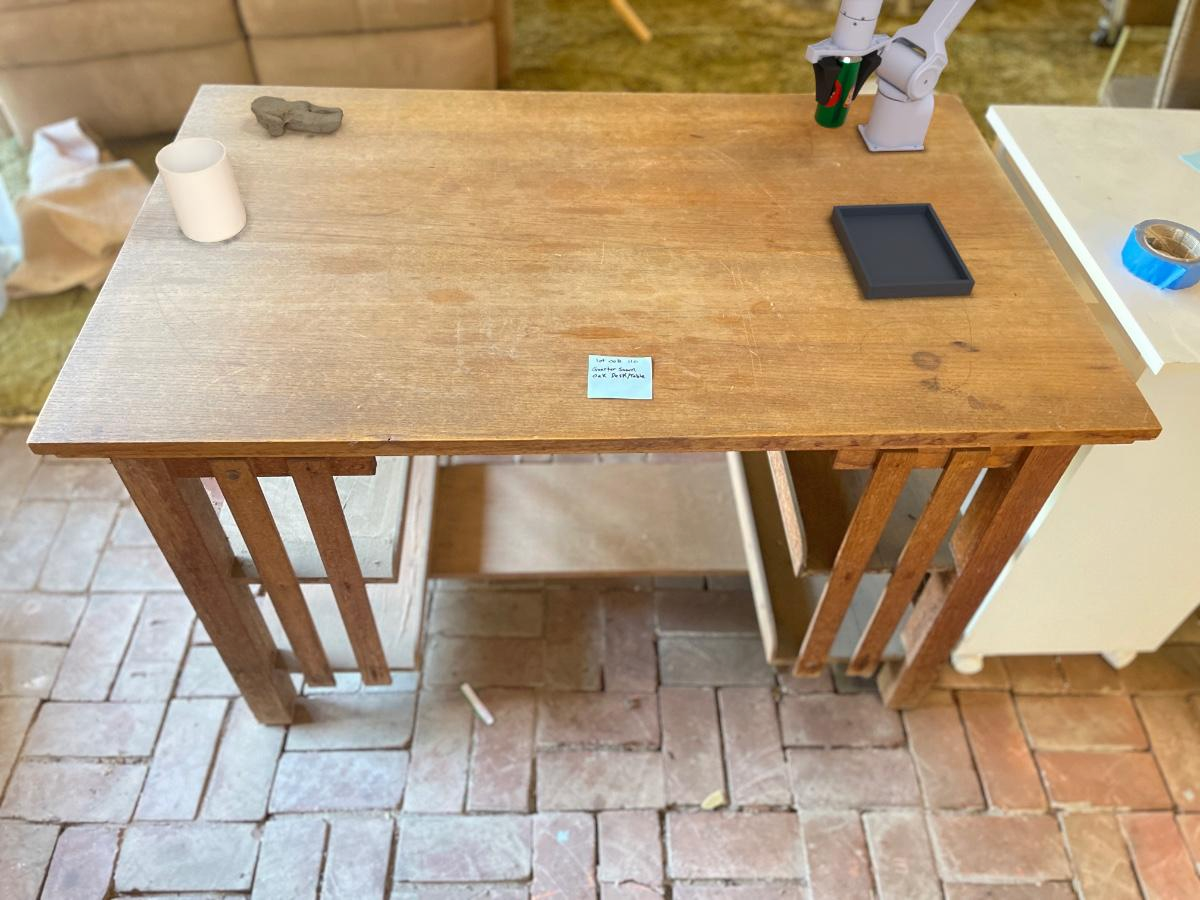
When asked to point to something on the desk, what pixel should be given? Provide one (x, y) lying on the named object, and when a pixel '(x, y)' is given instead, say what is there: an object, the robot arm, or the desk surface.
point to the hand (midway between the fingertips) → (835, 100)
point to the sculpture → (295, 116)
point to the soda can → (840, 94)
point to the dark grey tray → (900, 251)
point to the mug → (202, 189)
